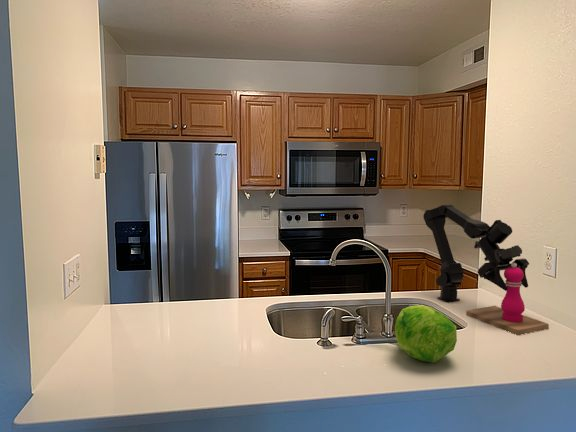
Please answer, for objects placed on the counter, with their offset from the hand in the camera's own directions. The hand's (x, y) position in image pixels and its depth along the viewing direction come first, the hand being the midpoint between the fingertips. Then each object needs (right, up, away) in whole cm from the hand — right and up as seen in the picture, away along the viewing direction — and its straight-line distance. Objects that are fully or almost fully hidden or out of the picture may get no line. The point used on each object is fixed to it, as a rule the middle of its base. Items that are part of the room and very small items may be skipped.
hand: (517, 288), depth 143 cm
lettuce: (-39, -16, -21) cm, 47 cm away
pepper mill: (0, -11, +2) cm, 11 cm away
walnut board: (-1, -13, +5) cm, 14 cm away
